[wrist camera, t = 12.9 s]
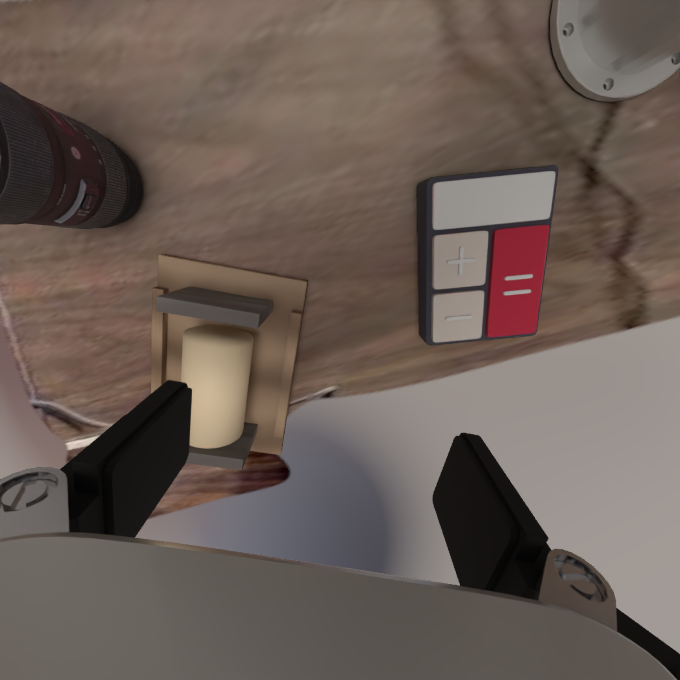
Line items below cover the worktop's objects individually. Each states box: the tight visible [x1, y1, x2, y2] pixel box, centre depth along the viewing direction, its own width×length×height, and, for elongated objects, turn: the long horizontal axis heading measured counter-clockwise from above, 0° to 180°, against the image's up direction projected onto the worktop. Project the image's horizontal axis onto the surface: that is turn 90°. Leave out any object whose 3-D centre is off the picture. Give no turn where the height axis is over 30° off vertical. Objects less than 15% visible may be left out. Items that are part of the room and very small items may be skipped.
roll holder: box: [151, 255, 308, 470], centre depth 30 cm, size 20×14×7 cm
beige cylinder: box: [181, 325, 254, 448], centre depth 30 cm, size 10×6×6 cm
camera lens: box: [0, 82, 143, 229], centre depth 21 cm, size 8×8×15 cm
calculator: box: [417, 165, 558, 345], centre depth 30 cm, size 11×4×15 cm
